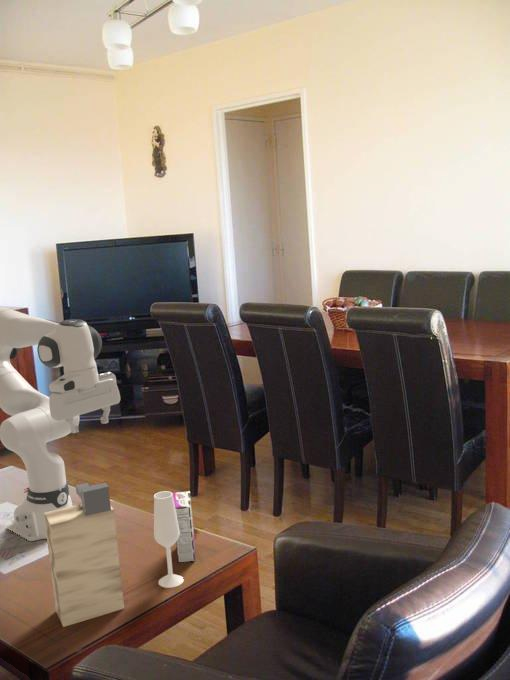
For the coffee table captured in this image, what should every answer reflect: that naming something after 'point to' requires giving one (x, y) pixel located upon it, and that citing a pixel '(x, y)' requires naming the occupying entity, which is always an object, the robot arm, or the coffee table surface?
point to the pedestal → (83, 563)
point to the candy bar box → (184, 527)
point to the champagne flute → (166, 533)
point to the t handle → (94, 498)
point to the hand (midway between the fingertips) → (90, 427)
